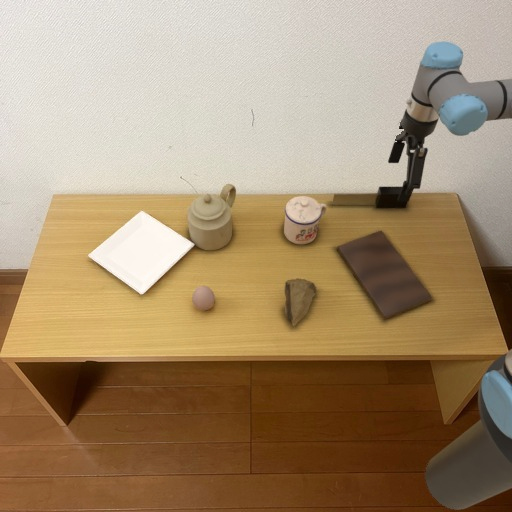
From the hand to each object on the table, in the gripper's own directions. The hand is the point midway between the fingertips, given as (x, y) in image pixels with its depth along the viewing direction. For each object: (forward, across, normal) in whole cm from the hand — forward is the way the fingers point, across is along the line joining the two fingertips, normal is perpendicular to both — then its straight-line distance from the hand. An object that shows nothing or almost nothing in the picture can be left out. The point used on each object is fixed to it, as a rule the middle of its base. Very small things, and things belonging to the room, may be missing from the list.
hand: (398, 180), depth 124 cm
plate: (+9, +17, -65) cm, 68 cm away
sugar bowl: (+9, +8, -48) cm, 50 cm away
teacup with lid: (+9, +9, -24) cm, 27 cm away
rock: (+9, +32, -26) cm, 42 cm away
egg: (+9, +32, -49) cm, 59 cm away
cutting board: (+9, +23, -6) cm, 26 cm away
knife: (+9, 0, -6) cm, 11 cm away
